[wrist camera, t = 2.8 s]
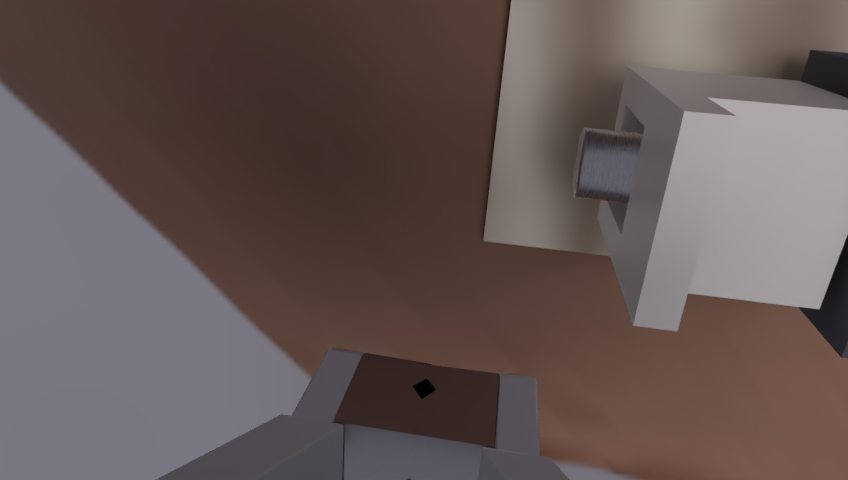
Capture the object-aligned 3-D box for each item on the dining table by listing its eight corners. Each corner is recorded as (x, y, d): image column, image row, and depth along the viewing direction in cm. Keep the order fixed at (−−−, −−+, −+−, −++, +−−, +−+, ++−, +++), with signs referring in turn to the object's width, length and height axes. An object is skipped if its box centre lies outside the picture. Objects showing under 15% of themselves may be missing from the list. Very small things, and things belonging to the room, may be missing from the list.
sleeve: (597, 217, 25) (633, 325, 17) (626, 65, 22) (684, 111, 15) (751, 234, 24) (860, 355, 16) (798, 80, 22) (954, 136, 14)
